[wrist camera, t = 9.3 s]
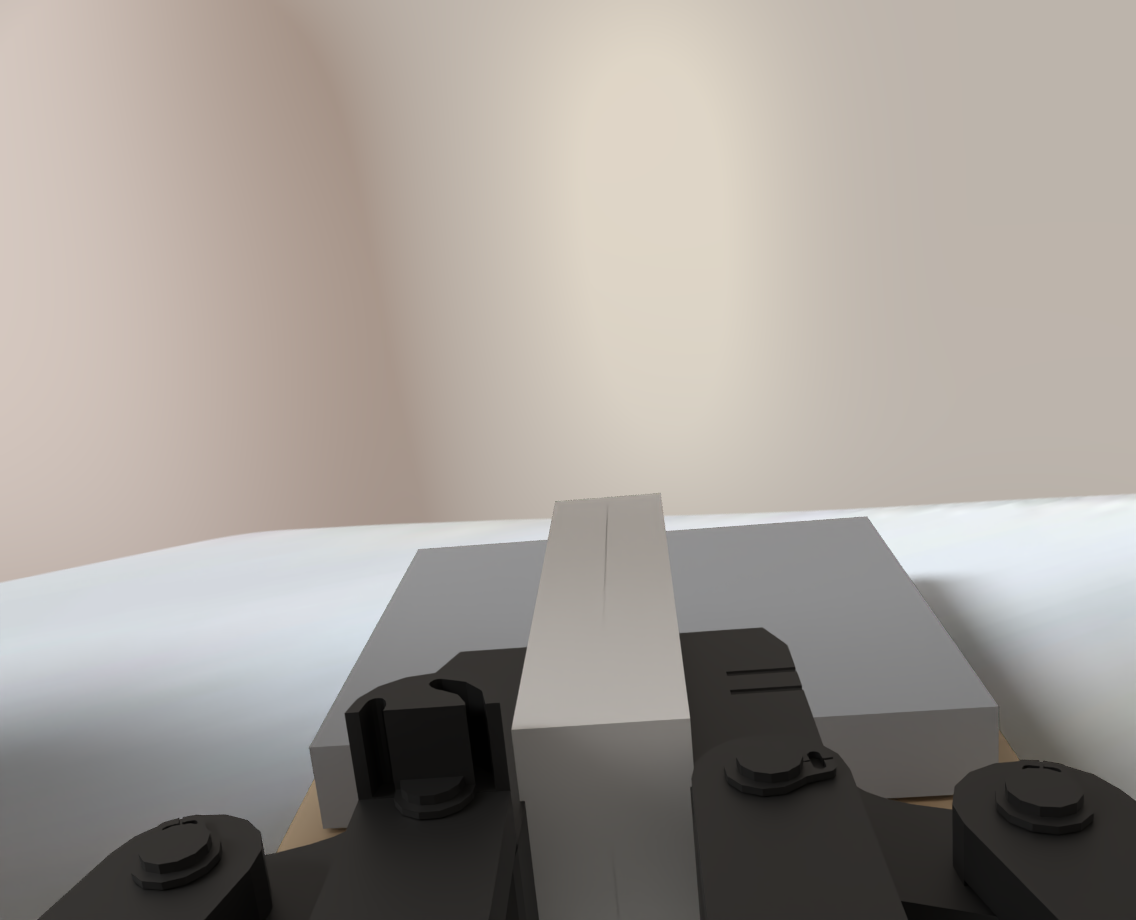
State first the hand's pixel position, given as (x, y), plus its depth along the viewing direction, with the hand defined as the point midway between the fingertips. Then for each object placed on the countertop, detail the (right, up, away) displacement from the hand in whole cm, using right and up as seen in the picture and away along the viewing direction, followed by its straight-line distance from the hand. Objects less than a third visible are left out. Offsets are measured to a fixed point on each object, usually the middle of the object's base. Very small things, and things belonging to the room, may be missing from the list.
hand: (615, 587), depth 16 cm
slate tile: (+1, -5, +10) cm, 11 cm away
